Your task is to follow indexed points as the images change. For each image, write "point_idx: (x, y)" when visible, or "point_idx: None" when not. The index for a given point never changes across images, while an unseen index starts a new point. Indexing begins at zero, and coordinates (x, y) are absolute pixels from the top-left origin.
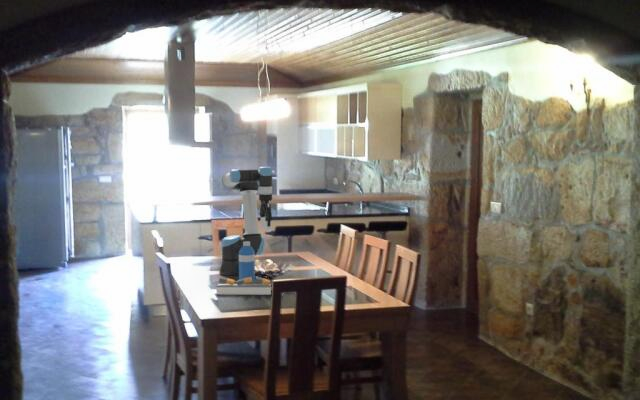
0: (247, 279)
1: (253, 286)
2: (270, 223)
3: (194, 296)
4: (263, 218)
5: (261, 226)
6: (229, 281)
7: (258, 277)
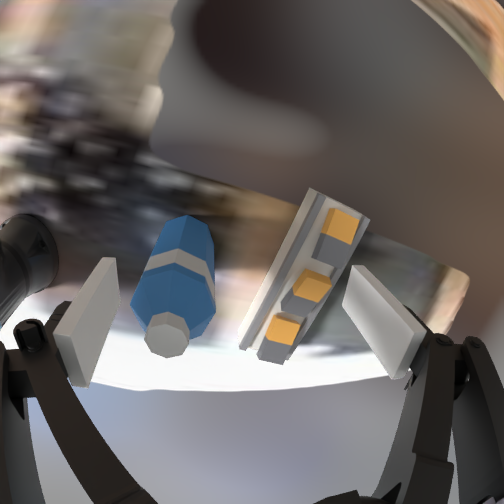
0: (325, 292)
1: (342, 269)
2: (405, 315)
3: (277, 383)
4: (83, 347)
5: (115, 307)
6: (294, 336)
7: (326, 254)
